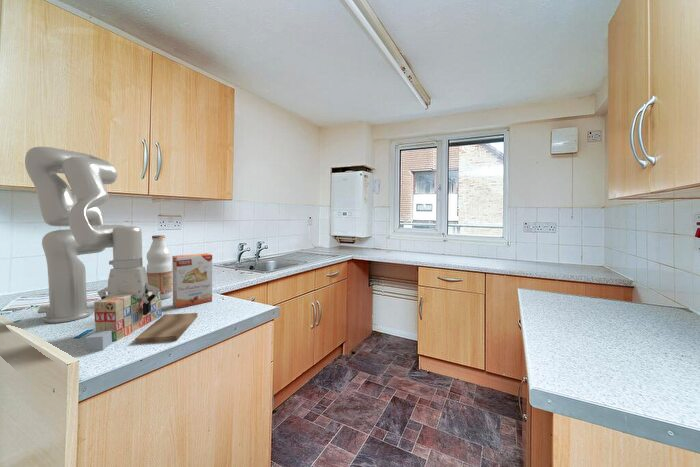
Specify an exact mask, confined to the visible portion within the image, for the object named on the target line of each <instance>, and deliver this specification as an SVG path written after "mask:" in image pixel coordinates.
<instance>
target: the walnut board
mask: <svg viewBox="0 0 700 467" xmlns="http://www.w3.org/2000/svg"><path fill="white" fill-rule="evenodd" d="M197 318H198V312H189V313H170V314H168V313H167V314H163V315H162V316H160V317H159V318H157V319H156V321H155V322H154V323H153V322H152V324H151V325H150V326H148V327H147V328H146V329H144V330H143V332H141V333H140V334H139V335H138V336H136V337H135V338H134V340H135V344H147V343H160V342H177V341H178V340H179V339H180V338H181V336H182V335H183V334H184V333H185V332H186V331H187V330H188V328H189V327H190V326H191V325H192V324H193V323H194V321H195V320H196V319H197Z"/></svg>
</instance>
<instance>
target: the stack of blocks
mask: <svg viewBox="0 0 700 467" xmlns="http://www.w3.org/2000/svg"><path fill="white" fill-rule="evenodd" d="M134 295H135V294H127V295H112V296H109V297H106V298H104V299H101V298H100V299H99V300H96V301H94V302H93V303H94V304H93V305H94V311H93V314H94V325H95V328H94V329H95V332H97V331H111V332H112V342H118V341H119V340H121V339H123V338H126V337H127V336H129V335H130V334H132V333H134V332H136V331H138V330H139V329H141V328H142V327H144V326H147V324H149V323H151V322H153V321H155V320H157V319H159V318H161V317H162V316H163V315H162V314H163V311H162V310H163V307H162V304H163V303H162V300H161V292H158V293H157V295H156V297H155V298H154V299H153V300H152V301H151V311H150V312H149V313H148V314H147V315H143V304H144V302H143V301H142V300H141V299H140V298H139V299H135V297H134ZM148 295H149V296H151V295H152V292H148Z"/></svg>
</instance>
